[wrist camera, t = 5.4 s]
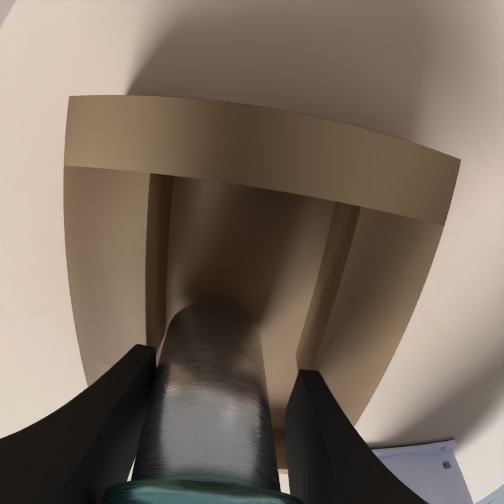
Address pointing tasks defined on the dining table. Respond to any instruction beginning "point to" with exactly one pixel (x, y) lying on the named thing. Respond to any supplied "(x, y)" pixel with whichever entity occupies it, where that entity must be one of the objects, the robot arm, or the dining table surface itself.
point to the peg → (206, 417)
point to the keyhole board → (249, 234)
